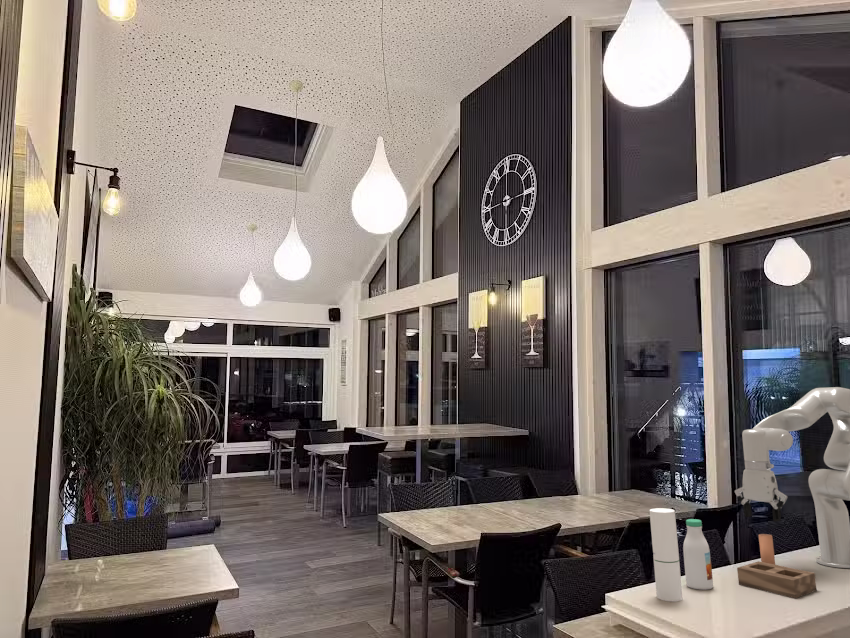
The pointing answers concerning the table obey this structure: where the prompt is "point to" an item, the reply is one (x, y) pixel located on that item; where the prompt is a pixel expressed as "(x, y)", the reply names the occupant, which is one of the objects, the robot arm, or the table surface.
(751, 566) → the socket block
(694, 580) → the milk bottle
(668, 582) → the cylindrical container
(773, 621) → the table surface
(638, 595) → the table surface
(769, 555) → the pin
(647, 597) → the table surface
